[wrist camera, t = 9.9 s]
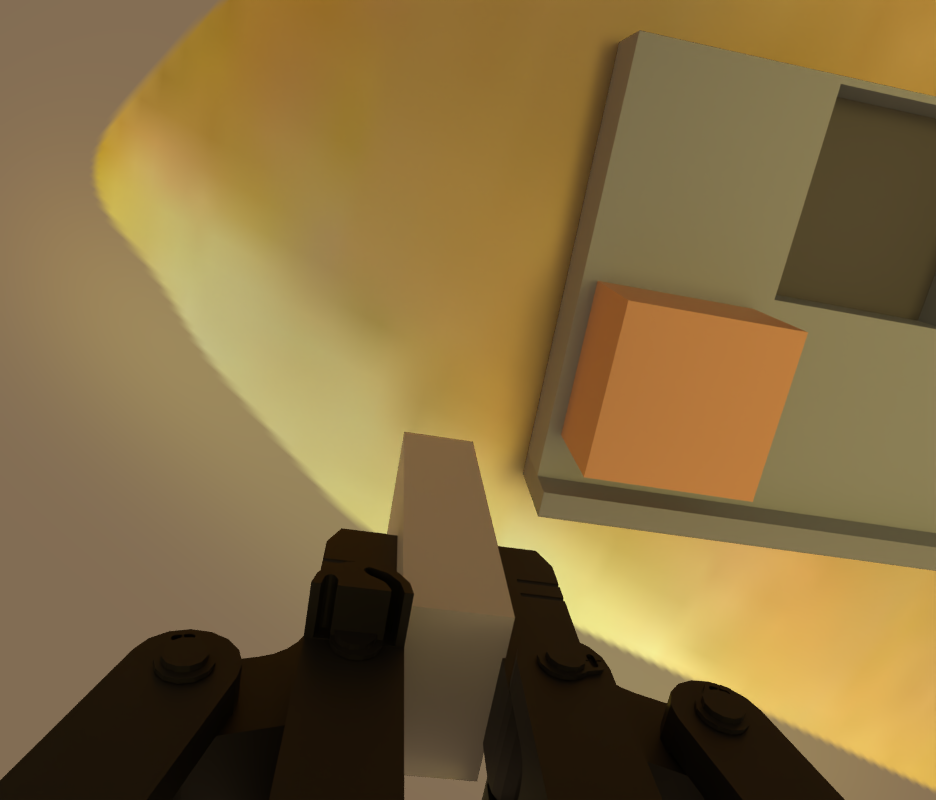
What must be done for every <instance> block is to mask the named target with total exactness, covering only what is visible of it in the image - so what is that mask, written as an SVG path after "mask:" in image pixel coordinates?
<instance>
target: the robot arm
mask: <svg viewBox="0 0 936 800" xmlns="http://www.w3.org/2000/svg"><path fill="white" fill-rule="evenodd" d="M483 753H484V755H485V763H486V770H487V781H486V785H485V789H484V793H483V797H482V800H844V798H843V797H842V796H841V795H840V794H839V793H838V792H837V791H836V790H835V789H834V788H833V787H832V786H831V785H830V784H829V783H828V781H827V780H826V779H825V778H824V777H823V776H822V775H821V774H820V773H819V772H818V771H817V770H816V769H815V768H814V767H813V766H812V764H811V763H810V762H809V761H808V760H807V759H806V758H805V757H804V756H803V755H802V754H801V753H800V752H799V751H798V750H797V749H796V747H795V746H794V745H793V744H792V743H791V742H790V741H789V740H788V739H787V738H786V737H785V736H784V735H783V734H782V733H781V732H780V730H779V729H778V728H777V727H776V726H775V725H774V724H773V723H772V722H771V721H770V720H769V719H768V718H767V717H766V716H765V714H764V713H763V712H762V711H761V710H760V709H758V708H757V707H756V706H755V705H754V704H752V703H751V702H750V701H749V700H748V699H746V698H745V697H743V696H741V695H740V694H738V693H736V692H734V691H732V690H731V689H729V688H727V687H724V686H722V685H717V684H715V683H711V682H705V681H692V680H691V681H687V682H684V683H680V684H678V685H677V686H676V687H675V688H674V689H673V690H672V691H671V693H670V696H669V700H668V703H663V702H660V701H657V700H654V699H651V698H648V697H645V696H642V695H639V694H636V693H633V692H631V691H628V690H626V689H623V688H621V687H619V686H617V685H616V683H615V680H614V678H613V675H612V673H611V670H610V669H609V667H608V666H607V664H606V663H605V661H604V660H603V658H602V657H601V656H600V655H598V654H597V653H596V652H594V651H593V650H592V649H590V648H589V647H588V646H586V645H584V644H581V643H580V642H579V639H578V637H577V634H576V631H575V628H574V626H573V623H572V620H571V617H570V615H569V612H568V609H567V606H566V604H565V601H563V595H562V593H561V590H560V587H558V582H557V579H556V576H555V573H554V570H553V568H552V566H551V565H550V564H549V563H548V562H547V561H546V560H545V559H544V558H542V557H541V556H540V555H539V554H538V553H537V552H536V551H532V550H524V549H516V548H508V547H500V546H498V545H497V541H496V537H495V533H494V528H493V524H492V520H491V516H490V512H489V508H488V503H487V499H486V495H485V491H484V487H483V483H482V478H481V474H480V470H479V466H478V462H477V458H476V453H475V449H474V445H473V442H470V441H464V440H457V439H450V438H443V437H436V436H429V435H422V434H415V433H409V432H404V437H403V443H402V449H401V455H400V461H399V466H398V472H397V478H396V484H395V490H394V496H393V502H392V508H391V514H390V520H389V526H388V532H387V534H381V533H374V532H366V531H357V530H349V529H341V530H340V531H338V532H337V533H336V534H335V535H333V536H332V537H331V538H330V539H329V540H328V541H327V543H326V548H325V553H324V557H323V562H322V566H321V571H319V572H318V573H317V574H316V576H315V577H314V579H313V580H312V582H311V589H310V596H309V603H308V611H307V617H306V625H305V632H304V636H303V637H302V638H301V639H300V640H299V641H298V642H297V643H295V644H294V645H292V646H291V647H289V648H288V649H285V650H283V651H280V652H277V653H275V654H271V655H266V656H260V657H253V658H245V659H241V656H240V652H239V649H237V647H236V646H235V645H233V643H231V642H230V641H229V640H228V639H226V638H224V637H222V636H219V635H217V634H215V633H212V632H207V631H199V630H192V629H189V630H179V631H169V632H166V633H163V634H161V635H157V636H154V637H151V638H149V639H147V640H146V641H144V642H143V643H141V644H140V645H138V646H137V647H135V648H134V649H133V650H132V651H131V652H130V653H129V654H128V655H127V656H126V657H125V658H124V659H123V660H122V661H121V662H120V663H119V664H118V665H117V666H116V667H114V669H113V670H111V671H110V672H109V673H108V675H107V676H105V677H104V678H103V679H102V680H101V681H100V682H99V683H98V684H97V685H96V686H95V687H94V688H93V689H92V690H91V691H90V692H89V693H88V694H87V695H86V696H85V697H84V698H83V699H82V700H81V701H80V702H79V703H78V704H77V705H76V706H75V707H74V708H73V709H72V710H71V711H70V712H69V713H68V714H67V715H66V716H65V717H64V718H63V719H62V720H61V721H60V722H59V723H58V724H57V725H56V726H55V727H54V728H53V729H52V730H51V731H50V732H49V733H48V734H47V735H46V736H45V737H44V738H43V739H42V740H41V741H40V742H39V743H38V744H37V745H36V746H35V747H34V748H33V749H32V750H31V751H30V752H29V753H27V754H26V756H24V757H23V758H22V760H20V762H18V763H17V764H16V765H15V767H13V768H12V769H11V770H10V771H9V772H8V773H7V774H6V775H5V776H4V777H3V778H2V779H1V780H0V800H404V775H407V776H419V777H431V778H443V779H455V780H467V781H477V779H478V774H479V770H480V766H481V761H482V757H483Z"/></svg>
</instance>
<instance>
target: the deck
mask: <svg viewBox="0 0 936 800" xmlns="http://www.w3.org/2000/svg"><path fill="white" fill-rule="evenodd" d="M597 281H602V282H608V283H613V284H619V285H624V286H630V287H635V288H641V289H647V290H652V291H658V292H663V293H669V294H674V295H680V296H685V297H691V298H696V299H702V300H707V301H713V302H719V303H724V304H730V305H735V306H741V307H746V308H752V309H755V310H757V311H760V312H762V313H764V314H767V315H769V316H771V317H774V318H776V319H778V320H780V321H783V322H785V323H787V324H790V325H792V326H794V327H797V328H799V329H801V330H804V331H806V332H808V335H807V338H806V341H805V344H804V347H803V350H802V353H801V356H800V359H799V362H798V365H797V368H796V371H795V374H794V377H793V380H792V383H791V387H790V390H789V393H788V396H787V399H786V402H785V405H784V408H783V411H782V414H781V417H780V420H779V423H778V426H777V429H776V432H775V435H774V438H773V441H772V445H771V448H770V451H769V454H768V457H767V460H766V463H765V466H764V469H763V472H762V475H761V478H760V481H759V484H758V487H757V490H756V493H755V496H754V500H753V502H750V501H743V500H736V499H729V498H722V497H715V496H708V495H702V494H695V493H688V492H681V491H674V490H667V489H660V488H654V487H647V486H640V485H633V484H626V483H619V482H613V481H606V480H599V479H592V478H585V477H584V476H583V475H582V473H581V471H580V469H579V467H578V465H577V464H576V462H575V460H574V458H573V456H572V454H571V452H570V451H569V449H568V447H567V445H566V443H565V441H564V440H563V438H562V436H561V433H562V429H563V425H564V420H565V416H566V412H567V408H568V403H569V399H570V395H571V391H572V387H573V382H574V378H575V374H576V370H577V365H578V361H579V357H580V353H581V349H582V344H583V340H584V336H585V332H586V328H587V323H588V319H589V315H590V311H591V306H592V302H593V298H594V294H595V290H596V285H597ZM523 475H524V478H525V480H526V483H527V486H528V489H529V492H530V494H531V497H532V500H533V503H534V506H535V509H536V511H537V514H538V516H539V517H546V518H553V519H561V520H568V521H575V522H583V523H590V524H597V525H605V526H612V527H619V528H626V529H634V530H641V531H648V532H656V533H663V534H670V535H678V536H685V537H692V538H700V539H707V540H714V541H722V542H729V543H736V544H744V545H751V546H758V547H766V548H773V549H780V550H787V551H795V552H802V553H809V554H817V555H824V556H831V557H839V558H846V559H853V560H861V561H868V562H875V563H883V564H890V565H897V566H905V567H912V568H919V569H927V570H934V571H936V97H935V96H930V95H926V94H922V93H917V92H913V91H908V90H904V89H899V88H895V87H890V86H886V85H881V84H877V83H872V82H868V81H863V80H859V79H855V78H850V77H846V76H841V75H837V74H832V73H828V72H823V71H819V70H814V69H810V68H805V67H801V66H796V65H792V64H788V63H783V62H779V61H774V60H770V59H765V58H761V57H756V56H752V55H747V54H743V53H738V52H734V51H729V50H725V49H721V48H716V47H712V46H707V45H703V44H698V43H694V42H689V41H685V40H680V39H676V38H671V37H667V36H662V35H658V34H654V33H649V32H645V31H638V32H636V33H634V34H633V35H631V36H629V37H627V38H626V39H624V40H622V41H621V42H619V46H618V50H617V55H616V59H615V64H614V68H613V73H612V77H611V82H610V86H609V91H608V95H607V100H606V104H605V109H604V113H603V118H602V122H601V127H600V131H599V136H598V140H597V145H596V149H595V154H594V158H593V163H592V167H591V171H590V176H589V180H588V185H587V189H586V194H585V198H584V203H583V207H582V212H581V216H580V221H579V225H578V230H577V234H576V239H575V243H574V248H573V252H572V257H571V261H570V266H569V270H568V275H567V279H566V284H565V288H564V293H563V297H562V301H561V306H560V310H559V315H558V319H557V324H556V328H555V333H554V337H553V342H552V346H551V351H550V355H549V360H548V364H547V369H546V373H545V378H544V382H543V387H542V391H541V396H540V400H539V405H538V409H537V414H536V418H535V423H534V427H533V432H532V436H531V440H530V445H529V449H528V454H527V458H526V463H525V467H524V472H523Z"/></svg>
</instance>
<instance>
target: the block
mask: <svg viewBox="0 0 936 800" xmlns="http://www.w3.org/2000/svg"><path fill="white" fill-rule="evenodd" d="M807 335H808V332H806V331H804V330H801V329H799V328H797V327H794V326H792V325H790V324H787V323H785V322H783V321H780V320H778V319H776V318H774V317H771V316H769V315H767V314H764V313H762V312H760V311H757V310H755V309H752V308H746V307H741V306H735V305H730V304H724V303H719V302H713V301H707V300H702V299H696V298H691V297H685V296H680V295H674V294H669V293H663V292H658V291H652V290H647V289H641V288H635V287H630V286H624V285H619V284H613V283H608V282H602V281H597V285H596V290H595V294H594V298H593V302H592V306H591V311H590V315H589V319H588V323H587V328H586V332H585V336H584V340H583V344H582V349H581V353H580V357H579V361H578V365H577V370H576V374H575V378H574V382H573V387H572V391H571V395H570V399H569V403H568V408H567V412H566V416H565V420H564V425H563V429H562V433H561V436H562V438H563V440H564V441H565V443H566V445H567V447H568V449H569V451H570V452H571V454H572V456H573V458H574V460H575V462H576V464H577V465H578V467H579V469H580V471H581V473H582V475H583V476H584V477H585V478H592V479H599V480H606V481H613V482H619V483H626V484H633V485H640V486H647V487H654V488H660V489H667V490H674V491H681V492H688V493H695V494H702V495H708V496H715V497H722V498H729V499H736V500H743V501H750V502H753V500H754V496H755V493H756V490H757V487H758V484H759V481H760V478H761V475H762V472H763V469H764V466H765V463H766V460H767V457H768V454H769V451H770V448H771V445H772V441H773V438H774V435H775V432H776V429H777V426H778V423H779V420H780V417H781V414H782V411H783V408H784V405H785V402H786V399H787V396H788V393H789V390H790V387H791V383H792V380H793V377H794V374H795V371H796V368H797V365H798V362H799V359H800V356H801V353H802V350H803V347H804V344H805V341H806V338H807Z"/></svg>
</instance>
